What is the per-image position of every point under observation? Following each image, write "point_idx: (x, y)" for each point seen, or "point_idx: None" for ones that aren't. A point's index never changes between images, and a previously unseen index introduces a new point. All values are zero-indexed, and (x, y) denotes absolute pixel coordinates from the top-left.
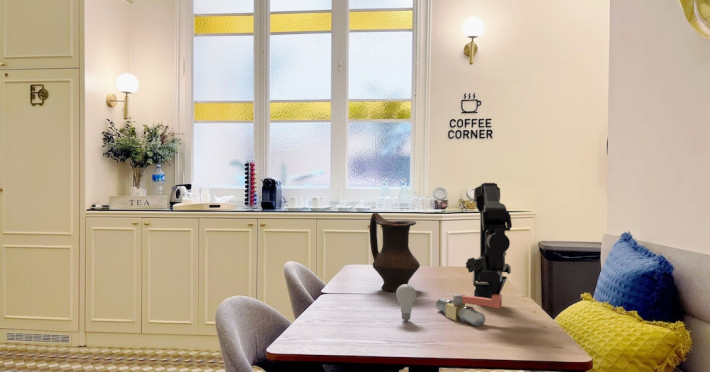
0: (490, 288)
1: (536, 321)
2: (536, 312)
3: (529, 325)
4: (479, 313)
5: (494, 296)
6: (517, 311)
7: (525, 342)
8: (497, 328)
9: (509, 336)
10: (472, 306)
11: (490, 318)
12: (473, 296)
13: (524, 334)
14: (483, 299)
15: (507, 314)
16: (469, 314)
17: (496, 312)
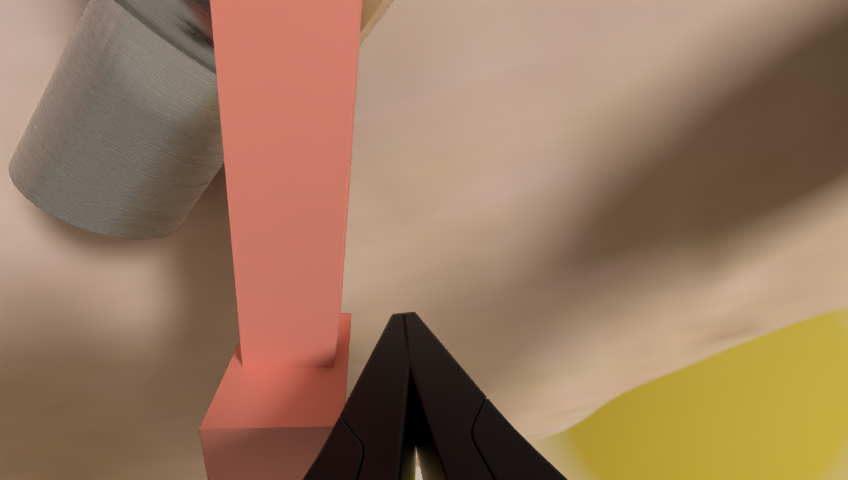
0: (317, 461)
1: (505, 392)
2: (714, 343)
3: None
4: (66, 216)
5: (209, 443)
6: (731, 263)
7: (24, 467)
8: (204, 291)
9: (68, 390)
10: None
11: (475, 170)
12: (346, 40)
13: (185, 425)
14: (234, 259)
15: (636, 236)
16: (50, 84)
17: (686, 155)
